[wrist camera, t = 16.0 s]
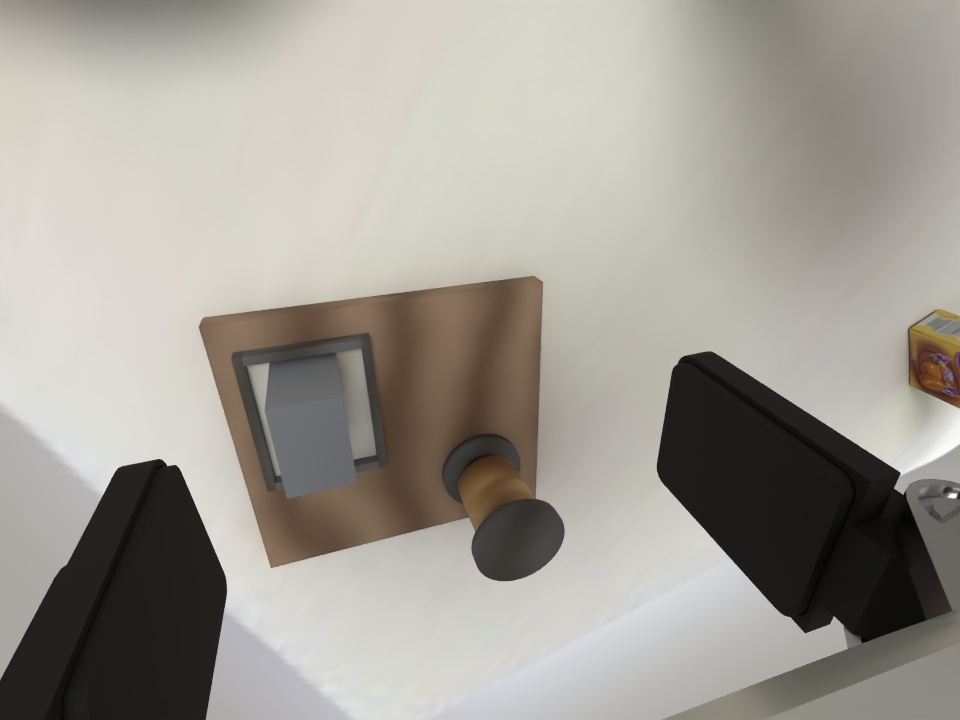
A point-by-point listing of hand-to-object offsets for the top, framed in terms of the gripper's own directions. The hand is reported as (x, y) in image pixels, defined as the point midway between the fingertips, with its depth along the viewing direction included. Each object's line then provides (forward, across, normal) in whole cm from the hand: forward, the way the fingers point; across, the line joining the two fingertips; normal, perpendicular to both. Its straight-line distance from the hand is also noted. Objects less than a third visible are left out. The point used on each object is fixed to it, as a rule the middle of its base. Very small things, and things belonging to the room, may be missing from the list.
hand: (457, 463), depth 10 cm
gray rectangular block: (+23, +5, +11) cm, 26 cm away
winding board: (+25, 0, +16) cm, 29 cm away
